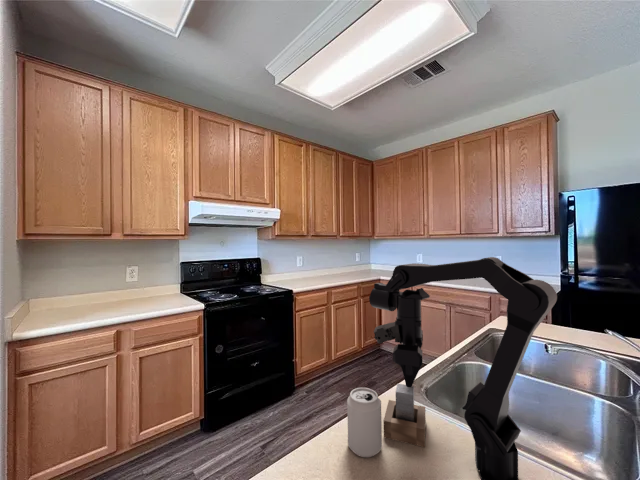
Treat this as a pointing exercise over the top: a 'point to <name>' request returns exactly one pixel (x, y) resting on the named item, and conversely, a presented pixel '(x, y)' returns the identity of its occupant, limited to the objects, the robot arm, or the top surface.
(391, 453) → the top surface
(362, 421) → the can
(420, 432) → the socket
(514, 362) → the robot arm
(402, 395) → the peg
